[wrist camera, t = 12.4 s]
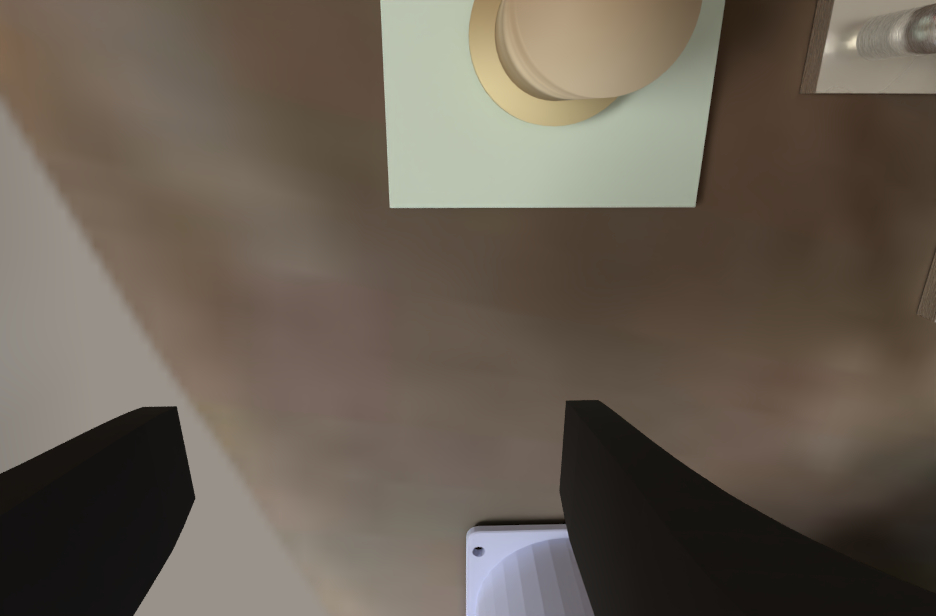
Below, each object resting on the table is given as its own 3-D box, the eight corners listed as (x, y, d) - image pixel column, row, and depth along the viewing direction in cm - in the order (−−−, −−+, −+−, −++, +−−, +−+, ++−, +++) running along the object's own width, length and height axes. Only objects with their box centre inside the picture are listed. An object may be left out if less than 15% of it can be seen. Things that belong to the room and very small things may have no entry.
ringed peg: (628, 125, 17) (717, 134, 11) (468, 125, 17) (478, 133, 11) (647, -63, 15) (762, -162, 10) (469, -65, 15) (481, -168, 10)
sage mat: (690, 205, 18) (695, 207, 18) (391, 205, 18) (389, 207, 18) (742, -163, 15) (749, -170, 15) (374, -170, 15) (372, -178, 14)
